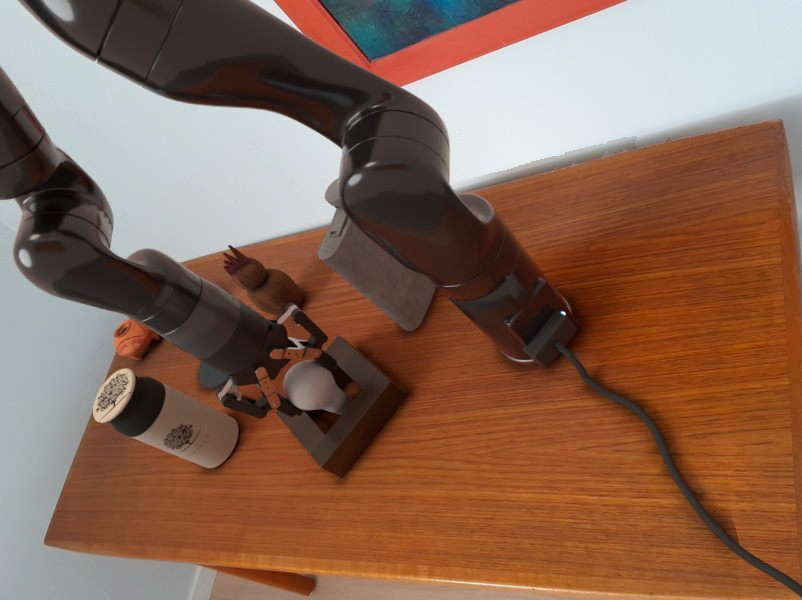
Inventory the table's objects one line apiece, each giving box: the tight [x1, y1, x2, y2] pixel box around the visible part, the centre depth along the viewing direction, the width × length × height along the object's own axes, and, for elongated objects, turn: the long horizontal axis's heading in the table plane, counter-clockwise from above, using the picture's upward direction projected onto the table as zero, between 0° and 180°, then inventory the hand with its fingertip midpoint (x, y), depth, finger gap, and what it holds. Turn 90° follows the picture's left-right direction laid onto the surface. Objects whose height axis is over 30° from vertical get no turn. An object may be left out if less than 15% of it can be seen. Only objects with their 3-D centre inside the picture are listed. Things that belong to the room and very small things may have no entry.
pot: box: [113, 318, 160, 361], centre depth 119 cm, size 8×8×7 cm
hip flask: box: [317, 177, 437, 332], centre depth 83 cm, size 16×4×20 cm, turn 164°
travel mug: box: [92, 367, 239, 469], centre depth 91 cm, size 8×8×18 cm
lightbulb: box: [283, 359, 354, 416], centre depth 83 cm, size 6×6×11 cm
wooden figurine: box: [222, 244, 303, 317], centre depth 99 cm, size 7×6×15 cm
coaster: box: [198, 360, 229, 390], centre depth 107 cm, size 10×10×1 cm
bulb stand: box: [275, 334, 410, 479], centre depth 85 cm, size 13×13×4 cm
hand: (316, 388), depth 82 cm, fingers closed on lightbulb, 6 cm apart
